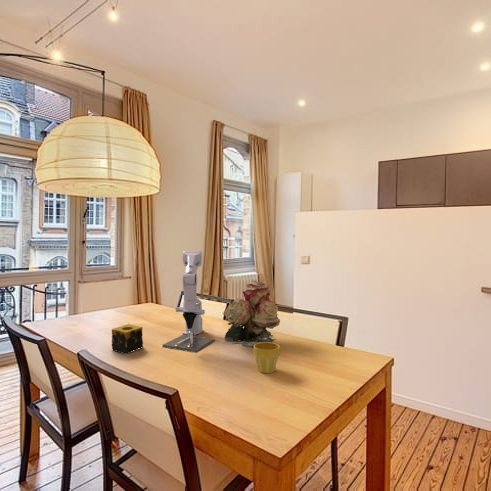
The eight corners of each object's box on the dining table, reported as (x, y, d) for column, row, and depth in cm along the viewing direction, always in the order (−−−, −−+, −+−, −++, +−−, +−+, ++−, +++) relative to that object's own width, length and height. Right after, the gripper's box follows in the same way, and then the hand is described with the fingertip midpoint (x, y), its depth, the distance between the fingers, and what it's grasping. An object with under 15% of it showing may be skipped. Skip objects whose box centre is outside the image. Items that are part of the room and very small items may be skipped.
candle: (128, 344, 171) (128, 323, 170) (143, 347, 166) (143, 326, 165) (111, 350, 162) (110, 328, 162) (126, 354, 157) (126, 332, 156)
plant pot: (263, 363, 148) (263, 339, 147) (284, 369, 141) (284, 345, 141) (248, 370, 140) (248, 346, 139) (269, 377, 133) (269, 352, 133)
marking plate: (183, 336, 184) (183, 332, 183) (214, 340, 177) (214, 336, 176) (162, 346, 167) (162, 342, 167) (195, 352, 160) (195, 347, 160)
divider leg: (188, 336, 178) (188, 330, 178) (194, 336, 179) (194, 330, 179) (188, 345, 165) (188, 339, 164) (194, 344, 165) (194, 339, 165)
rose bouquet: (217, 344, 172) (218, 282, 170) (245, 329, 198) (245, 275, 196) (266, 353, 160) (266, 287, 159) (288, 335, 186) (289, 279, 184)
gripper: (171, 299, 163) (171, 328, 164) (199, 302, 158) (199, 332, 158) (180, 296, 170) (180, 324, 170) (206, 299, 164) (206, 328, 165)
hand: (189, 328), depth 165 cm, fingers closed
